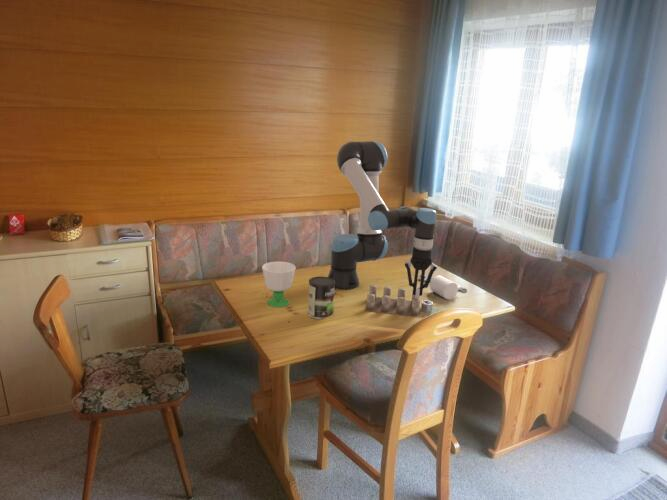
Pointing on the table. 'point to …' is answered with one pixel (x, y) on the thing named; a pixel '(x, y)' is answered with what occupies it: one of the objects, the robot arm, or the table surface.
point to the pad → (434, 311)
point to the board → (392, 303)
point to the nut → (426, 306)
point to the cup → (278, 281)
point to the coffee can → (321, 297)
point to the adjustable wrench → (432, 278)
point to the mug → (444, 287)
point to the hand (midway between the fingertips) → (416, 302)
